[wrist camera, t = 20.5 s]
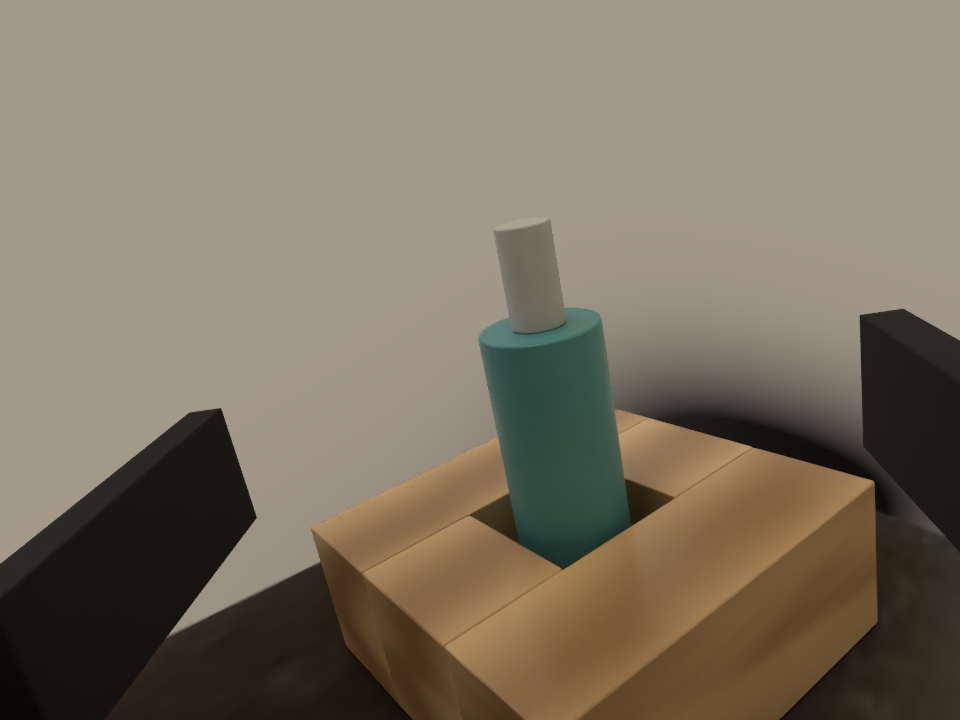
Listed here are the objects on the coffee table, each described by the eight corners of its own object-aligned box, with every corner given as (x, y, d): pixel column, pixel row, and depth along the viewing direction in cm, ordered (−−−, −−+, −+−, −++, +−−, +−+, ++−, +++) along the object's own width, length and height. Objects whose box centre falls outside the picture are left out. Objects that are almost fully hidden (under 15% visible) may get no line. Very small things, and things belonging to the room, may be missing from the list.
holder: (345, 645, 26) (309, 527, 24) (594, 499, 32) (577, 398, 31) (584, 915, 16) (548, 740, 14) (878, 622, 22) (875, 480, 20)
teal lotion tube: (530, 673, 23) (441, 244, 19) (548, 600, 26) (476, 222, 22) (644, 677, 22) (578, 223, 17) (648, 600, 25) (592, 203, 21)
